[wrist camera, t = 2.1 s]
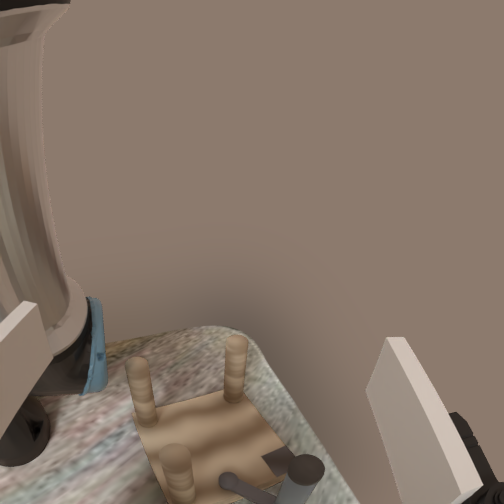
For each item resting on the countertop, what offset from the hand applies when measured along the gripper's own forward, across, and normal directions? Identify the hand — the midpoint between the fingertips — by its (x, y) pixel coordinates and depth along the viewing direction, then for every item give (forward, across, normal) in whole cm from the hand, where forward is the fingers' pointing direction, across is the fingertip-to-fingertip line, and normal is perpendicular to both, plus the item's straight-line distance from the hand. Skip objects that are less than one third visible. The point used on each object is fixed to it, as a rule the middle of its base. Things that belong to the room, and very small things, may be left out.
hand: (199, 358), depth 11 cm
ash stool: (+17, -1, -34) cm, 38 cm away
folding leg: (+8, +5, -31) cm, 32 cm away
